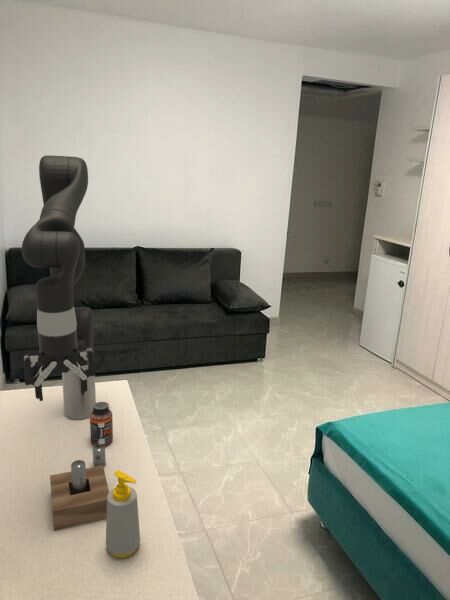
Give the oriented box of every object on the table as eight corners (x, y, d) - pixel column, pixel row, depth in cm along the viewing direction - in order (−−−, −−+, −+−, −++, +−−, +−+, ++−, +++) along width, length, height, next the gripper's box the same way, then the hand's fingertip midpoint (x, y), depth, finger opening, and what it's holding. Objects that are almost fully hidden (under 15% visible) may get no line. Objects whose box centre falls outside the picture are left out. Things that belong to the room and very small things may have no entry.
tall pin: (72, 502, 111) (70, 461, 108) (86, 499, 112) (84, 459, 109) (74, 511, 109) (71, 469, 105) (88, 508, 110) (85, 467, 106)
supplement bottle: (107, 449, 130) (106, 412, 127) (86, 445, 131) (85, 409, 128) (116, 436, 136) (115, 401, 132) (96, 433, 137) (95, 398, 133)
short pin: (92, 462, 125) (92, 446, 123) (104, 460, 126) (104, 443, 124) (94, 469, 122) (93, 452, 121) (106, 467, 123) (105, 450, 122)
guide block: (51, 493, 114) (49, 475, 112) (103, 482, 118) (102, 465, 116) (54, 530, 103) (52, 511, 102) (111, 517, 108) (110, 498, 106)
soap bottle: (124, 566, 95) (122, 491, 90) (98, 550, 99) (95, 476, 93) (147, 543, 101) (147, 471, 95) (122, 529, 104) (120, 458, 99)
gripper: (90, 317, 106) (93, 383, 111) (19, 324, 101) (26, 392, 106) (95, 330, 99) (98, 399, 105) (20, 338, 94) (27, 410, 100)
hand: (61, 396), depth 106 cm, fingers open, 8 cm apart
